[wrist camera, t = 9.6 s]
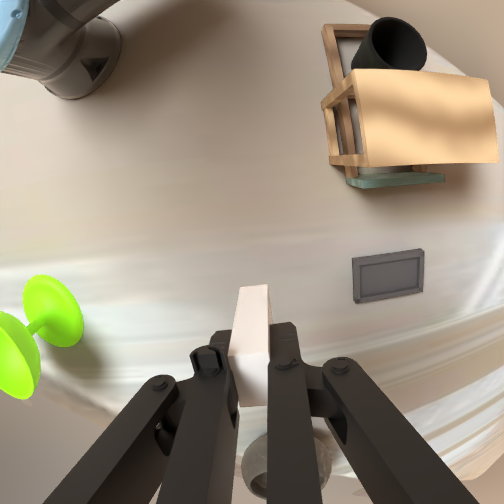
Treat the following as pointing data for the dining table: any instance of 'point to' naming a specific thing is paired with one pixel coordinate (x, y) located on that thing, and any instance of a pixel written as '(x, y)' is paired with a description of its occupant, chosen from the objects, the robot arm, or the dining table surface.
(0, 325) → the wineglass
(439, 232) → the dining table surface
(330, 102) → the brown wooden frame
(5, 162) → the dining table surface
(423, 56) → the cup
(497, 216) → the dining table surface
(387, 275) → the tray
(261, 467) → the bowl
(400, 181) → the sled
